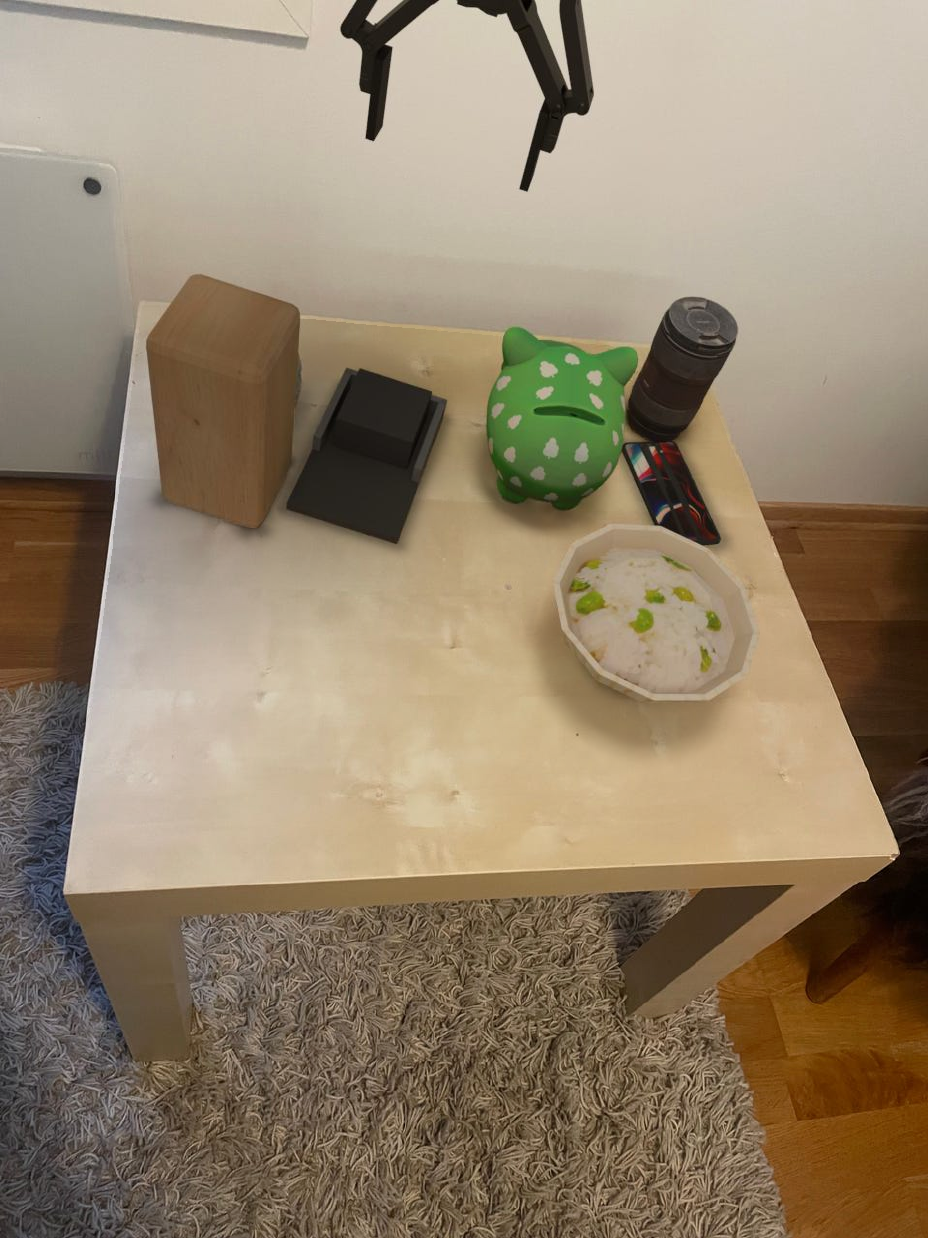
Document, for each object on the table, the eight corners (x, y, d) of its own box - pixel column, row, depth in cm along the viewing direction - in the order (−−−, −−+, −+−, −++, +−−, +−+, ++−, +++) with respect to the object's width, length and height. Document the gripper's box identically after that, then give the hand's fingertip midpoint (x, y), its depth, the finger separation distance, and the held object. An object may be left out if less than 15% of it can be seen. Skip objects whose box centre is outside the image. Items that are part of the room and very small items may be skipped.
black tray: (396, 544, 92) (401, 525, 89) (286, 509, 91) (287, 489, 89) (442, 419, 102) (447, 399, 100) (343, 387, 102) (346, 366, 100)
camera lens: (609, 400, 110) (655, 295, 97) (668, 395, 112) (720, 292, 100) (636, 451, 106) (687, 348, 93) (696, 444, 108) (754, 343, 96)
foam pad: (332, 445, 96) (336, 417, 92) (355, 395, 100) (359, 367, 97) (406, 469, 96) (412, 442, 93) (426, 418, 101) (432, 391, 97)
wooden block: (158, 503, 89) (139, 337, 72) (200, 433, 94) (191, 265, 78) (258, 535, 89) (262, 377, 73) (294, 463, 95) (304, 302, 78)
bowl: (496, 596, 90) (521, 533, 82) (662, 561, 97) (701, 500, 89) (577, 773, 82) (614, 721, 73) (753, 721, 88) (805, 668, 80)
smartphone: (665, 547, 98) (620, 442, 106) (663, 551, 99) (618, 446, 106) (724, 542, 100) (676, 439, 108) (722, 546, 101) (673, 443, 108)
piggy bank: (593, 418, 107) (638, 313, 95) (603, 541, 97) (655, 441, 85) (472, 398, 105) (503, 288, 93) (470, 522, 95) (504, 416, 83)
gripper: (310, -192, 59) (295, 132, 76) (681, -67, 60) (582, 226, 77) (346, -222, 63) (324, 91, 81) (691, -105, 64) (595, 180, 81)
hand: (450, 157), depth 79 cm, fingers open, 13 cm apart
